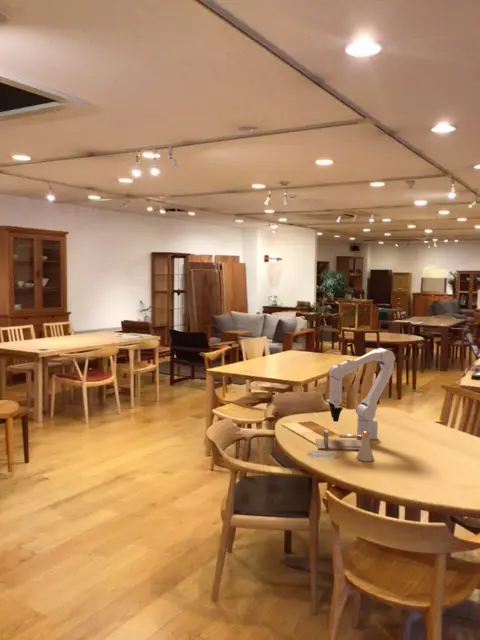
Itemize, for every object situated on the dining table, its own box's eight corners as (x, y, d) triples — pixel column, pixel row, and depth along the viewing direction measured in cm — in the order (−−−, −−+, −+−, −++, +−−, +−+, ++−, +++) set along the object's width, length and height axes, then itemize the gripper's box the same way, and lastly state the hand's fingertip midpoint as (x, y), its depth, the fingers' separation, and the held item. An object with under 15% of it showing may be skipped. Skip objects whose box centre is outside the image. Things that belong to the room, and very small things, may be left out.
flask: (363, 463, 242) (364, 439, 241) (353, 457, 249) (353, 435, 248) (377, 460, 246) (378, 437, 245) (366, 455, 252) (367, 433, 251)
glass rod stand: (366, 440, 267) (367, 430, 267) (368, 443, 262) (369, 433, 262) (338, 439, 268) (338, 429, 267) (339, 443, 263) (339, 432, 262)
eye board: (362, 441, 272) (363, 427, 271) (367, 451, 258) (368, 436, 257) (315, 440, 273) (316, 426, 272) (318, 449, 259) (318, 435, 258)
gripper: (325, 387, 282) (324, 415, 283) (328, 394, 267) (327, 423, 269) (340, 388, 281) (339, 415, 283) (344, 394, 267) (343, 423, 268)
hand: (334, 419), depth 276 cm, fingers open, 7 cm apart
